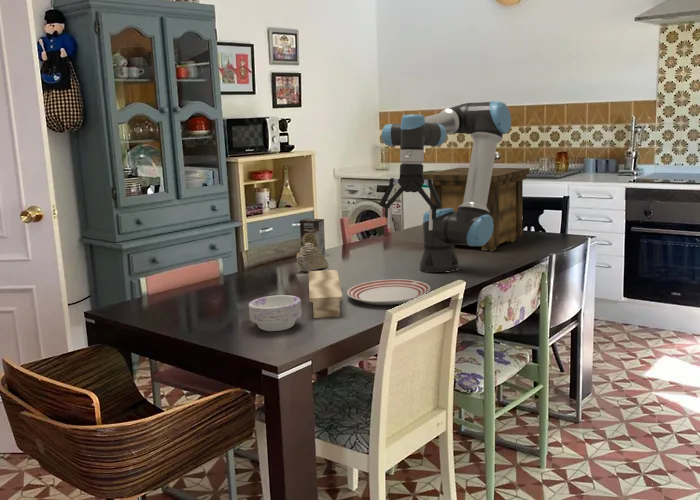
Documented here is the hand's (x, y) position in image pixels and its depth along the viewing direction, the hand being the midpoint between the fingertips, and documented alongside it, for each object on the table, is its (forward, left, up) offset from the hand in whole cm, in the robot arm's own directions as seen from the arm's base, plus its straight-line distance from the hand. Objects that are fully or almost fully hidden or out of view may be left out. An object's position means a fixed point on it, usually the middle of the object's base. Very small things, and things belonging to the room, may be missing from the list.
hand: (409, 229), depth 226 cm
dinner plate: (+8, +1, -23) cm, 24 cm away
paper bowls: (+44, +26, -23) cm, 56 cm away
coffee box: (+32, -75, -23) cm, 85 cm away
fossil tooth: (+32, -47, -23) cm, 62 cm away
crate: (-42, -82, -23) cm, 95 cm away
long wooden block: (+29, +1, -22) cm, 36 cm away
